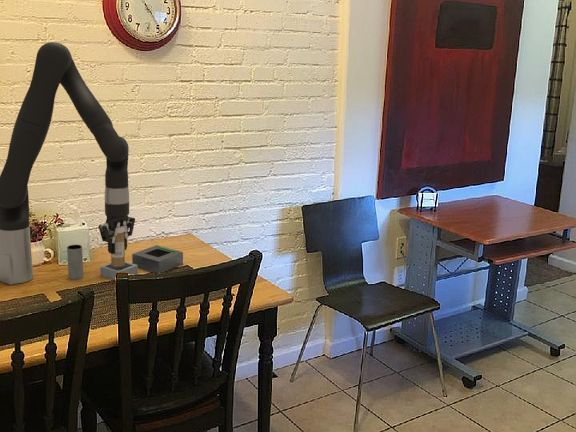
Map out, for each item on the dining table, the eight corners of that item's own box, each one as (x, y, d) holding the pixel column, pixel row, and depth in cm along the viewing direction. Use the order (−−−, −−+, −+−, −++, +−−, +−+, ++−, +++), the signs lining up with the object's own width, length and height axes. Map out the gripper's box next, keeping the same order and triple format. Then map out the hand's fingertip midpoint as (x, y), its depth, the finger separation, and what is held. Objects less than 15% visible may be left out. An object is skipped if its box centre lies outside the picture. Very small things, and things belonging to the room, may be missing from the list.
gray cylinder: (79, 273, 209) (77, 243, 206) (86, 277, 206) (84, 247, 203) (66, 276, 206) (64, 246, 203) (72, 280, 203) (71, 250, 200)
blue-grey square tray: (119, 281, 204) (118, 272, 204) (100, 275, 208) (100, 266, 208) (137, 273, 211) (137, 265, 210) (119, 268, 215) (119, 259, 215)
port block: (159, 274, 212) (158, 260, 210) (132, 266, 217) (132, 253, 216) (182, 264, 222) (183, 251, 220) (156, 257, 227) (156, 244, 226)
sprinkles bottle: (126, 263, 211) (126, 224, 208) (123, 268, 207) (123, 228, 203) (112, 262, 211) (111, 223, 207) (109, 267, 206) (108, 227, 203)
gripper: (124, 194, 211) (125, 243, 215) (91, 202, 199) (92, 254, 203) (141, 198, 207) (141, 248, 212) (108, 206, 195) (109, 259, 200)
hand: (117, 251), depth 208 cm, fingers closed on sprinkles bottle, 4 cm apart
